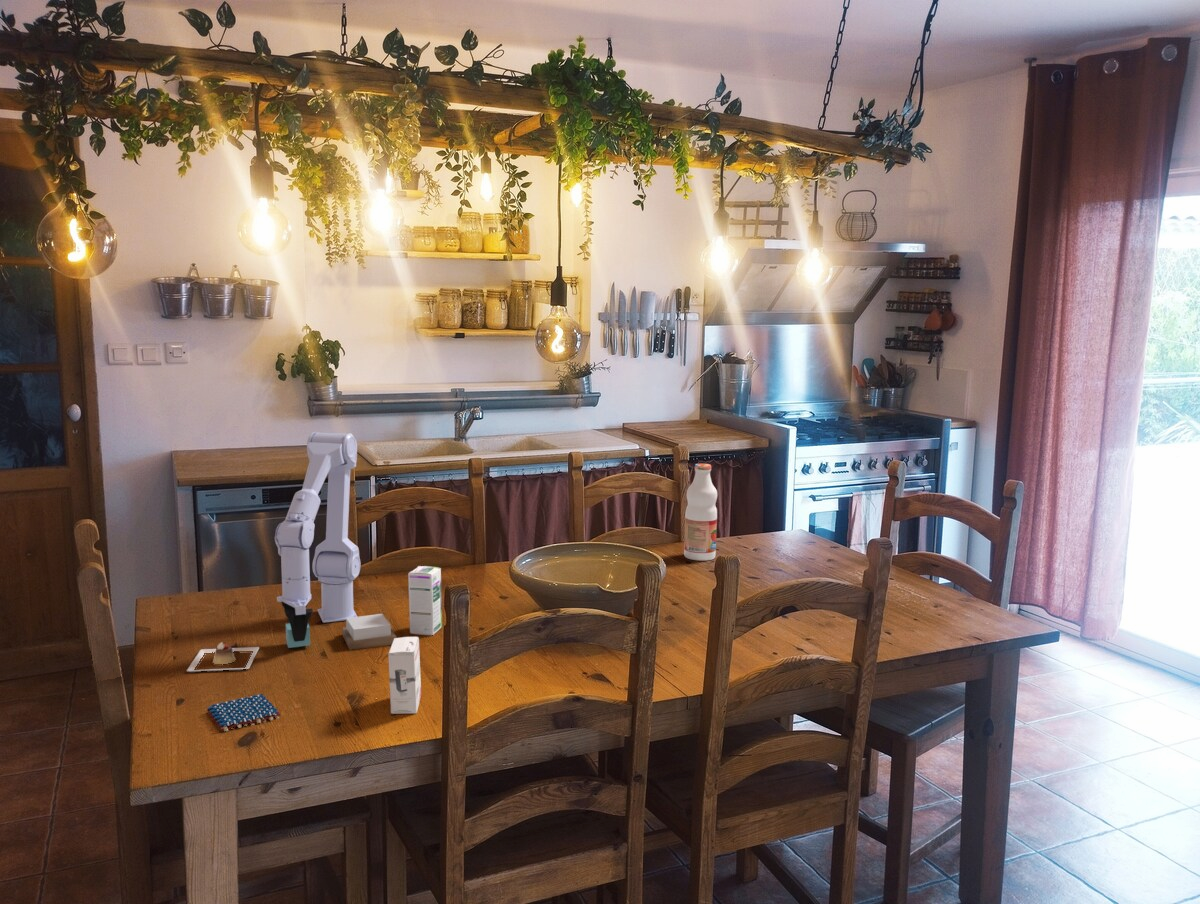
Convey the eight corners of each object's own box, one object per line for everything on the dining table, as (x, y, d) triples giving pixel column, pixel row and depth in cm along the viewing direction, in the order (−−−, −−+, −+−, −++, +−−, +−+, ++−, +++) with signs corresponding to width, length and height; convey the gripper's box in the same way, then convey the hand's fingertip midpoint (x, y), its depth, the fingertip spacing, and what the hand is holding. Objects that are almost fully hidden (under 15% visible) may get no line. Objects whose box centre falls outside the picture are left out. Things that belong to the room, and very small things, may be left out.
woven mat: (283, 721, 172) (282, 710, 172) (221, 736, 166) (221, 725, 165) (265, 701, 180) (264, 691, 180) (205, 714, 174) (205, 704, 174)
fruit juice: (679, 553, 289) (683, 462, 284) (709, 552, 291) (713, 461, 286) (689, 561, 280) (692, 467, 275) (719, 560, 282) (723, 467, 277)
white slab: (346, 629, 213) (346, 618, 213) (382, 624, 217) (381, 613, 216) (354, 640, 206) (353, 629, 206) (391, 635, 210) (390, 624, 209)
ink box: (394, 695, 183) (393, 636, 181) (421, 695, 183) (420, 635, 181) (388, 715, 174) (387, 652, 172) (416, 714, 175) (416, 652, 173)
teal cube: (286, 640, 208) (285, 623, 207) (307, 638, 210) (307, 620, 209) (288, 647, 204) (287, 629, 203) (310, 645, 206) (309, 627, 205)
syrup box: (433, 636, 215) (432, 573, 213) (408, 633, 216) (407, 571, 214) (442, 627, 220) (442, 566, 218) (418, 625, 222) (417, 565, 219)
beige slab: (342, 637, 215) (342, 627, 214) (387, 632, 219) (387, 621, 218) (349, 653, 206) (349, 641, 205) (396, 647, 210) (396, 636, 209)
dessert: (259, 651, 205) (259, 630, 204) (249, 673, 193) (248, 650, 193) (200, 654, 203) (199, 632, 202) (186, 676, 191) (185, 653, 190)
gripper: (272, 568, 209) (275, 628, 212) (279, 587, 196) (281, 650, 199) (306, 565, 212) (308, 624, 214) (315, 584, 199) (317, 646, 201)
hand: (297, 636), depth 207 cm, fingers closed on teal cube, 4 cm apart
